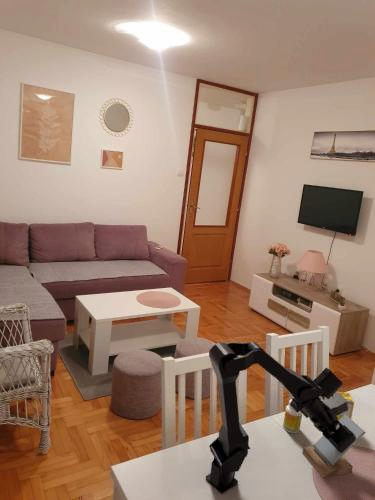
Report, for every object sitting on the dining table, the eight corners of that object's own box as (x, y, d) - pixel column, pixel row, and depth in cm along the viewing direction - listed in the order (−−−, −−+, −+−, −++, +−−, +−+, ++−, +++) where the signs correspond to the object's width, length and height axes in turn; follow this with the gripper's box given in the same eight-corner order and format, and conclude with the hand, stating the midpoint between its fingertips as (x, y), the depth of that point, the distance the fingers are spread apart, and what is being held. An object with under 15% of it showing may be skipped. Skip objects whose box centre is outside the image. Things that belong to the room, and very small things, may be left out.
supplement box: (343, 420, 139) (349, 392, 137) (349, 431, 133) (354, 402, 131) (326, 418, 139) (332, 390, 137) (331, 428, 134) (336, 400, 131)
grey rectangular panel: (329, 465, 112) (364, 431, 114) (312, 445, 120) (345, 413, 121) (331, 467, 113) (365, 433, 114) (314, 447, 120) (346, 416, 121)
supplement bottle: (295, 435, 128) (300, 409, 126) (280, 428, 131) (284, 402, 129) (301, 428, 132) (306, 402, 130) (286, 421, 136) (290, 395, 134)
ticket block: (322, 477, 111) (323, 471, 111) (302, 453, 120) (303, 447, 120) (351, 472, 114) (352, 466, 114) (329, 448, 124) (330, 443, 123)
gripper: (357, 407, 103) (381, 440, 109) (314, 371, 120) (336, 401, 126) (327, 437, 102) (352, 468, 108) (287, 396, 119) (311, 425, 125)
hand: (338, 438), depth 117 cm, fingers closed, pressing on grey rectangular panel
